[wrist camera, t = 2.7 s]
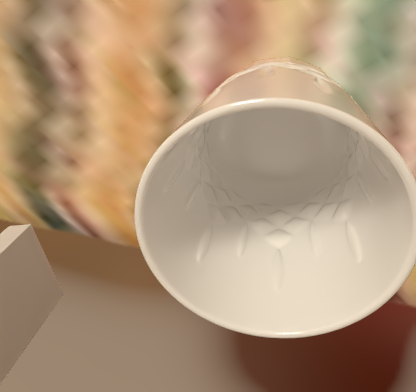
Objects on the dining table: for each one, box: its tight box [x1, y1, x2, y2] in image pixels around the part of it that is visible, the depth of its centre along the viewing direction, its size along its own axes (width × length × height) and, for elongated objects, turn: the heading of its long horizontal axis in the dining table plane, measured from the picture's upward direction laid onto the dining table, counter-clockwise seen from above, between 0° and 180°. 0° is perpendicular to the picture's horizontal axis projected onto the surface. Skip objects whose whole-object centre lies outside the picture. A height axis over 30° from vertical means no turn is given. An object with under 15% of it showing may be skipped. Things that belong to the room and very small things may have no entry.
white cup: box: [135, 57, 416, 338], centre depth 15 cm, size 8×8×10 cm
